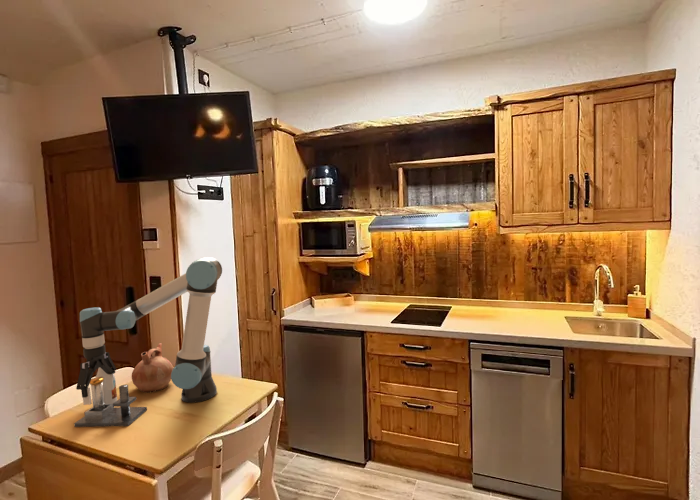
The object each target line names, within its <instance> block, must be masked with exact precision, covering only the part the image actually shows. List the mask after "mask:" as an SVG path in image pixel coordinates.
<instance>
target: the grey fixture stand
mask: <svg viewBox="0 0 700 500" xmlns="http://www.w3.org/2000/svg"><path fill="white" fill-rule="evenodd" d="M118 390H119V392H118V393H119V399H117V401H116V402H115V403H113V404H105V409H104V410H102V411H94V410H93V406H92V407H91V408H89V409H87V410H86V411H85V412H84V416H83V417H81V418H79V419H78V420H77V421H76V422H74V423H73V425H74V428H90V427H91V428H92V427H93V428H95V427H97V428H98V427H102V428H103V427H129V426H130V425H132V424H133V423H134V422H135V421H136V420H137V419H138V418H140V417H141V416H142V415H143V414H144V413H146V412H147V411H148V407H147V406H131V404H132V403H134V402H135V401H136V400H137V396H130V394H129V393H130V392H129V384H122V385H119V386H118Z"/></svg>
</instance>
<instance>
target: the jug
mask: <svg viewBox="0 0 700 500" xmlns="http://www.w3.org/2000/svg"><path fill="white" fill-rule="evenodd" d="M162 346H163V344H162V342H161V343H160V342H159V343H158V344H157V346H156V347H155V348H150V349H149V350H148V351H144V352H141V354H140V356H141V359H142V360H141V361H139V362H138V363H137V364H136V365H135V367H134V368H133V370H132V373H131V380H132V383H133V385H134V386H135V388H137V390H139V391H141V392H143V393H145V394H146V393H147V394H148V393H149V394H150V392H151V393H155V392H159V391H160V392H161V391H162V390H165V389H166V388H167V387H168V385H169V384H170V382H171V381H172V380H171V373H172V370H173V368H174V366H173V364H172V363H171V361H170V360H169V359H167V357H163V355H162V354H163V351H162V350H163V349H162ZM153 354H154V355H153Z"/></svg>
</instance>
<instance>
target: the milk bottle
mask: <svg viewBox="0 0 700 500" xmlns="http://www.w3.org/2000/svg"><path fill="white" fill-rule="evenodd" d="M106 374H107V373H106V372H105V371H103V370H102V369H101V368H100V367H99V368H98V369H97V372H96V375H95V378H96V377H103V380H104V381H103V392H104V402H105V404H113V403H115V402H116V401H117V400H118V394H117V384H116V383H117V382H116V375H115V373H114V374H113V384H114V389H113V390H107V387H106V378H105V375H106Z"/></svg>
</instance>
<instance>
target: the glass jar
mask: <svg viewBox="0 0 700 500" xmlns="http://www.w3.org/2000/svg"><path fill="white" fill-rule="evenodd" d="M103 381H104V380H103V377H96V376H95V377H94V378H91V381H90V384H89V385H90V391H91V401H92V407H93V410H94V411H102V410H104V409H105V402H104V392H103Z"/></svg>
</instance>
